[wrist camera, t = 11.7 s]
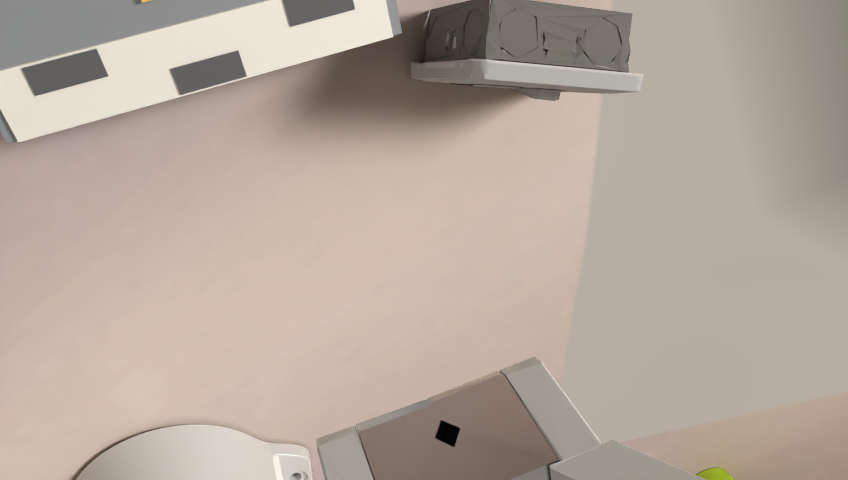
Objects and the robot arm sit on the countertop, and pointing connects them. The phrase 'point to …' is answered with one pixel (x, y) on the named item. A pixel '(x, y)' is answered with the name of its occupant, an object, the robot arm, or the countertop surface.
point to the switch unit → (159, 51)
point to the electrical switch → (529, 48)
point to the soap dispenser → (715, 474)
